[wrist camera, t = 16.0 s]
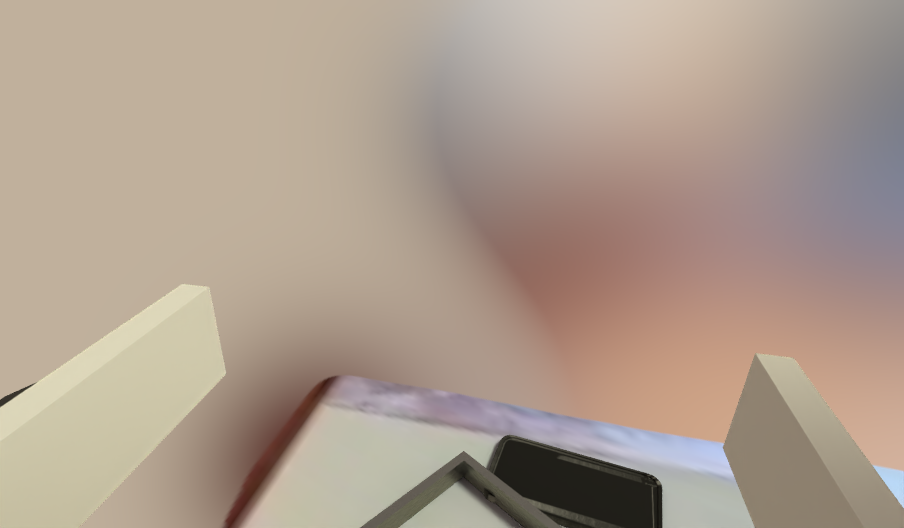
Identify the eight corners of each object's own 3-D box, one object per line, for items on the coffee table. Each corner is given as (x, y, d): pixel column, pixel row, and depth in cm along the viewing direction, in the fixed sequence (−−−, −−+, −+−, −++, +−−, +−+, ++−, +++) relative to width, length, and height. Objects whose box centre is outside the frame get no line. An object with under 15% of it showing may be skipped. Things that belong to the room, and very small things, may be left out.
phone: (662, 551, 40) (480, 491, 44) (659, 561, 40) (479, 500, 45) (661, 476, 46) (503, 431, 51) (659, 485, 47) (503, 439, 51)
